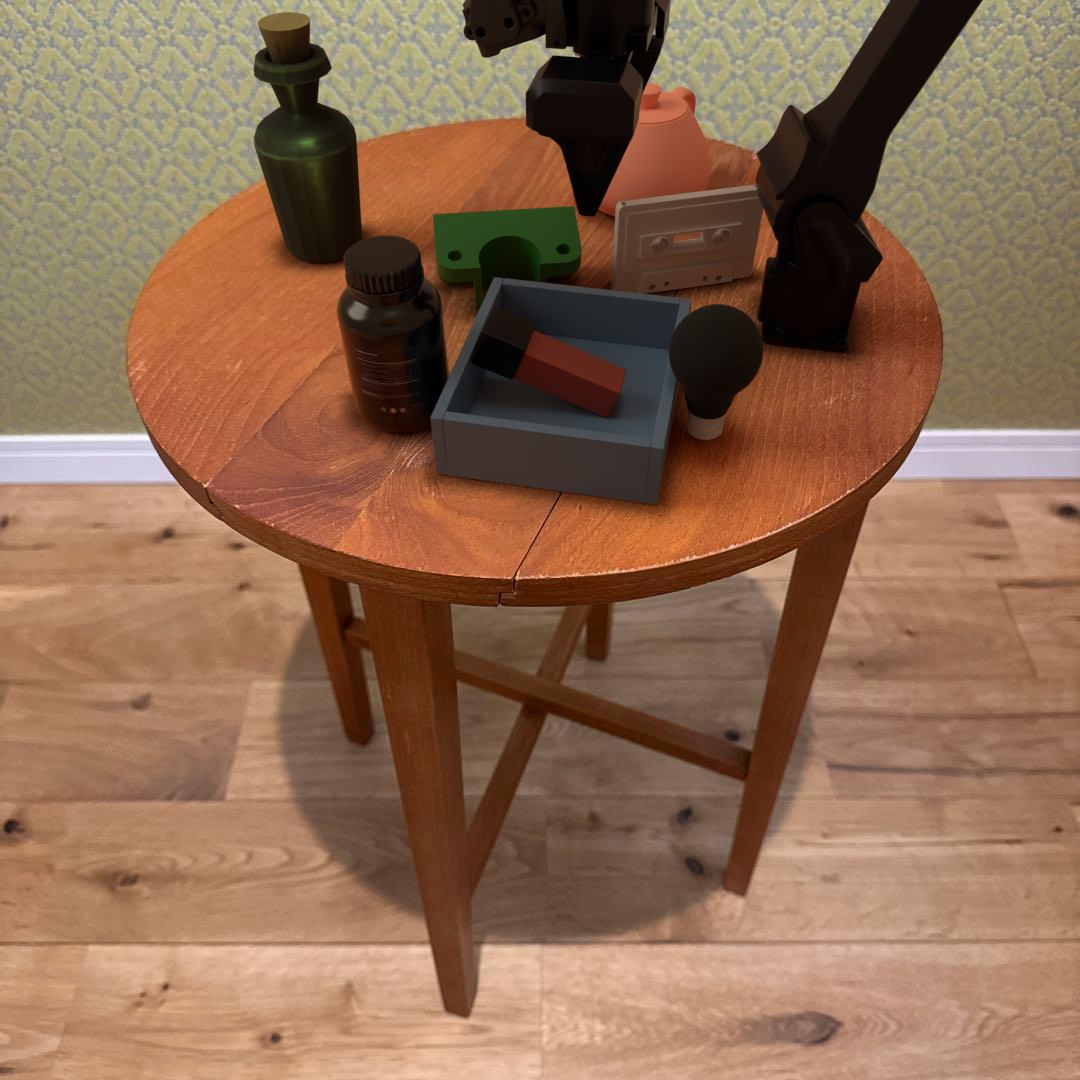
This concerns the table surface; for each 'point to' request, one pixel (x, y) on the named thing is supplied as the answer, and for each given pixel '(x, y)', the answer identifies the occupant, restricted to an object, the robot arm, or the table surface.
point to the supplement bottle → (392, 334)
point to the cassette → (686, 263)
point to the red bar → (547, 363)
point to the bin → (555, 424)
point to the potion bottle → (306, 146)
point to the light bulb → (714, 363)
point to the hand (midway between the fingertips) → (599, 182)
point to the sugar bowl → (661, 151)
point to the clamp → (506, 246)
